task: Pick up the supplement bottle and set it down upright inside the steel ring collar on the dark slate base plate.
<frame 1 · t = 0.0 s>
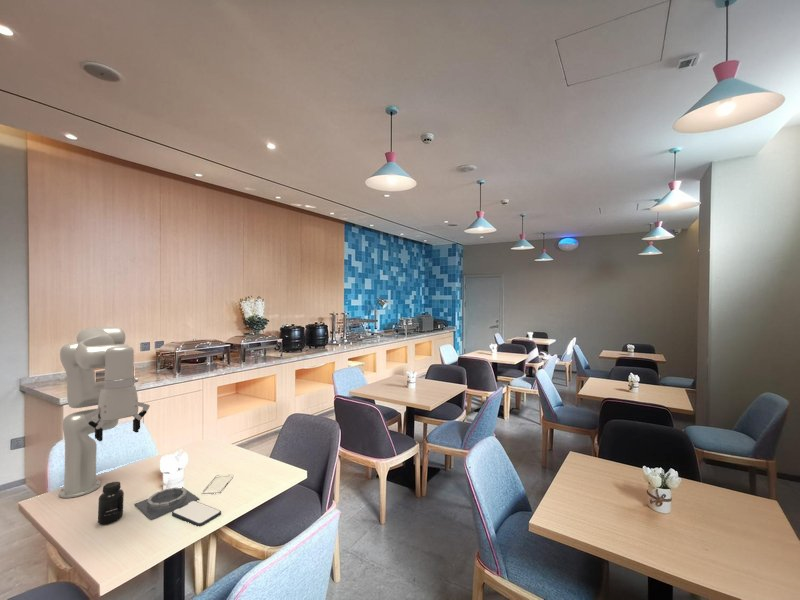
hand: (118, 435, 116), 31 cm above the table, tool pointing down, fingers open, 9 cm apart
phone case: (196, 516, 125), on the table
ring collar: (167, 502, 133), on the table
phone case 2: (218, 486, 146), on the table
supplement bottle: (110, 520, 122), on the table
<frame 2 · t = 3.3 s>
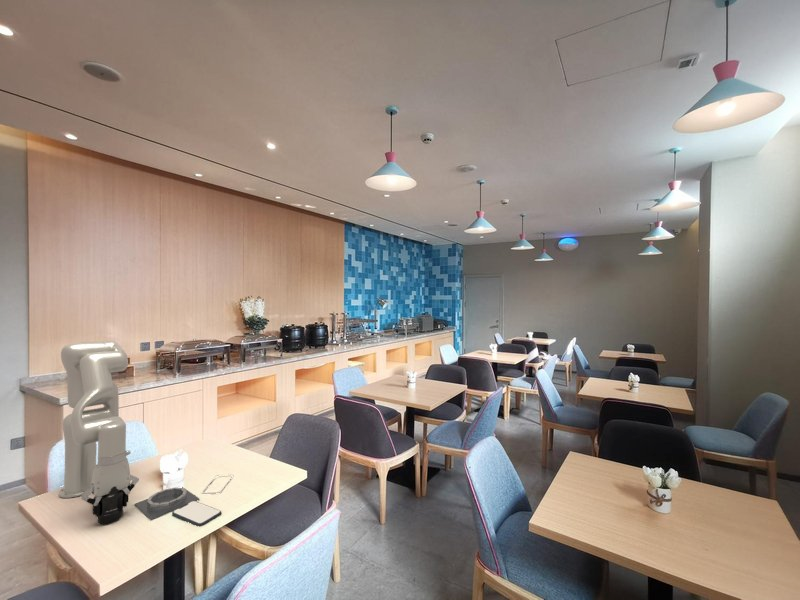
hand: (111, 509, 122), 3 cm above the table, tool pointing down, fingers closed on supplement bottle, 6 cm apart
supplement bottle: (110, 520, 122), on the table, touching gripper
everything else where it was.
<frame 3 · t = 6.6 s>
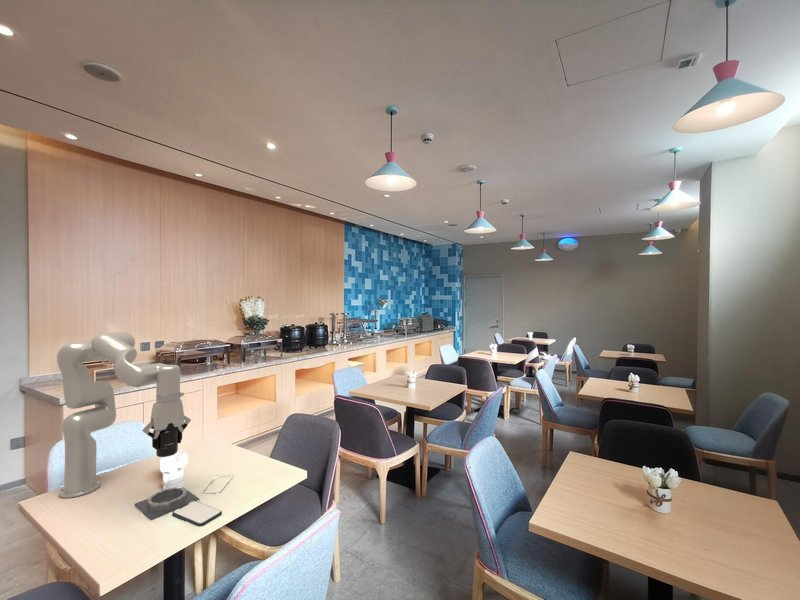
hand: (167, 445, 133), 22 cm above the table, tool pointing down, fingers closed on supplement bottle, 6 cm apart
supplement bottle: (167, 454, 133), point 18 cm above the table, touching gripper
everything else where it was.
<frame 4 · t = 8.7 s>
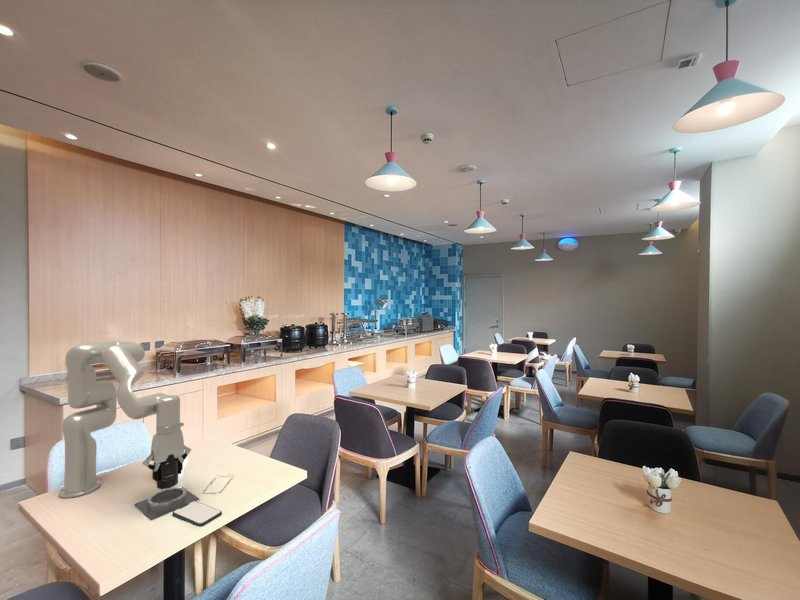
hand: (167, 476, 133), 10 cm above the table, tool pointing down, fingers closed on supplement bottle, 6 cm apart
supplement bottle: (167, 485, 133), point 6 cm above the table, touching gripper
everything else where it was.
when the fingers open (5 cm above the table, at t = 10.3 s): supplement bottle drops 1 cm, resting on ring collar.
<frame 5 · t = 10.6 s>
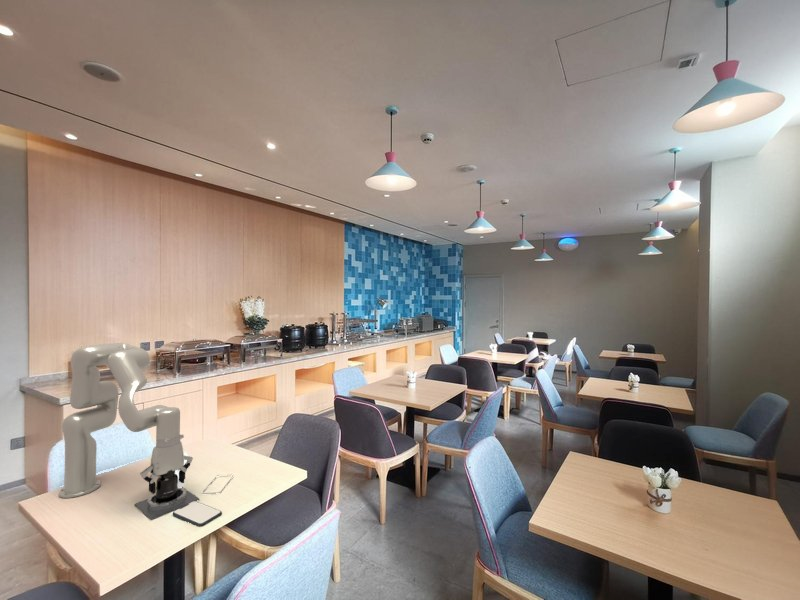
hand: (167, 487, 133), 6 cm above the table, tool pointing down, fingers open, 9 cm apart
supplement bottle: (166, 501, 133), resting on ring collar
everything else where it was.
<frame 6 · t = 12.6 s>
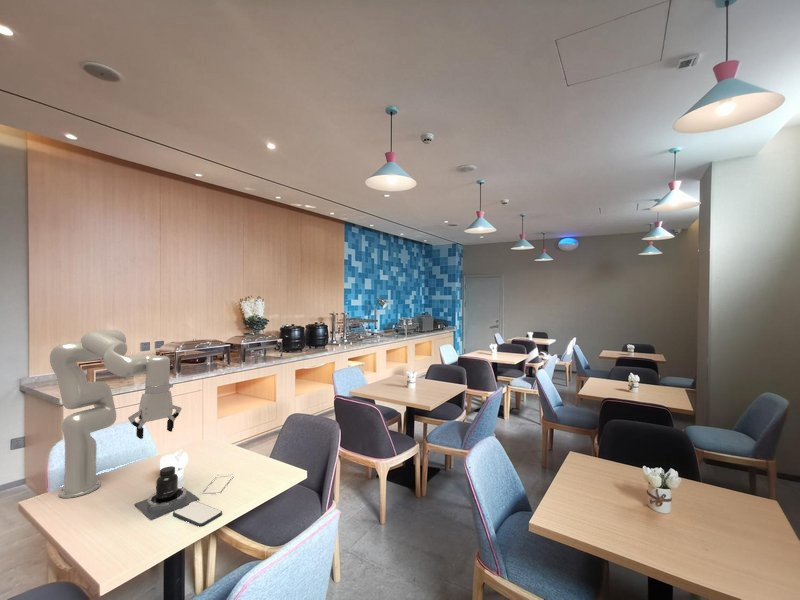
hand: (155, 434, 133), 26 cm above the table, tool pointing down, fingers open, 9 cm apart
nothing on the table moved.
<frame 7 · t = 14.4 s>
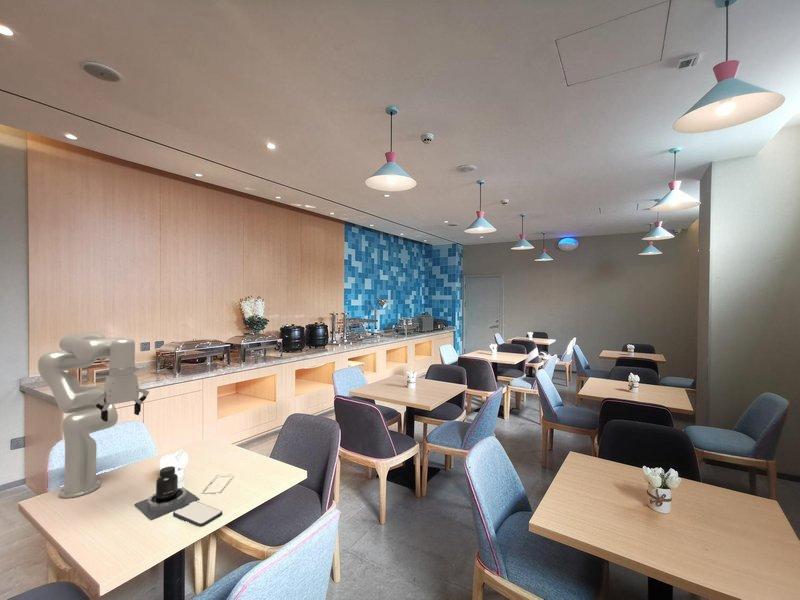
hand: (121, 417, 132), 32 cm above the table, tool pointing down, fingers open, 9 cm apart
nothing on the table moved.
at the end: supplement bottle 0.1 cm off-centre on the ring collar, point 0.4 cm above the ring collar's base; supplement bottle tilted 0°; the gripper is holding nothing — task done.
